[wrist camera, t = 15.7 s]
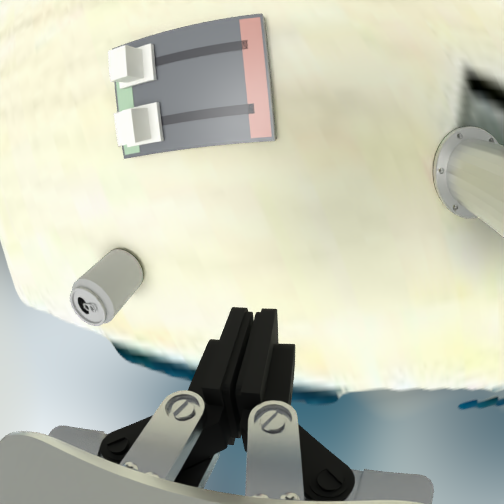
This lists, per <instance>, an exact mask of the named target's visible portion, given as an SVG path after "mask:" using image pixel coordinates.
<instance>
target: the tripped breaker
mask: <svg viewBox="0 0 504 504" xmlns="http://www.w3.org/2000/svg"><path fill="white" fill-rule="evenodd" d="M108 58H109V73H110V82H119V86H120V89H125V88H128V87H132V86H135V85H139V84H142V83H146V82H150V81H154V80H157V79H156V68H155V56H154V44H151V43H150V44H147V45H144V46H140V47H137V48H135V47H131V46H127V45H123V46H121V47H118V48H115V49H112V50H110V51H108Z"/></svg>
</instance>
